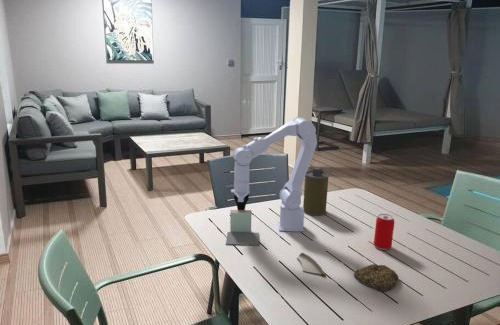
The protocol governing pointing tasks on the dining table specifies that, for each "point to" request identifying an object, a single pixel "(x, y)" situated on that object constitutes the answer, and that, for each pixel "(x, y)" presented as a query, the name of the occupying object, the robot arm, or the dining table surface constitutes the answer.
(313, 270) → the ceramic fragment
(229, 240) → the mat
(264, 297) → the dining table surface
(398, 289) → the dining table surface
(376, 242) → the beverage can
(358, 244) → the dining table surface
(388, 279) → the mossy rock
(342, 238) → the dining table surface
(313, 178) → the canister
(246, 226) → the peach green flat block
